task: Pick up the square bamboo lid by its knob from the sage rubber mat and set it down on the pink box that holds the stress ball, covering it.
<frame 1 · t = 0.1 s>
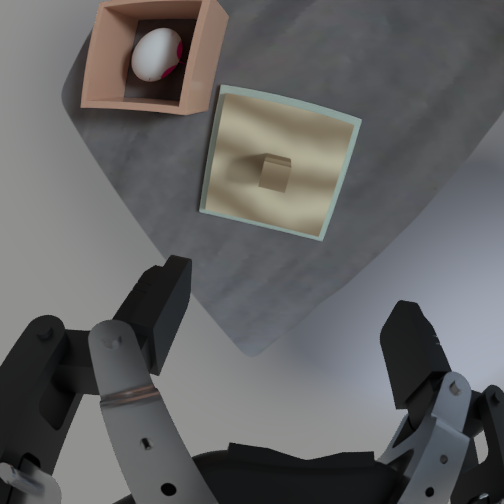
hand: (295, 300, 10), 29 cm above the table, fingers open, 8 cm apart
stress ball: (170, 58, 30), resting in pink box
pink box: (168, 58, 30), on the table
mat: (276, 164, 36), on the table
lid: (276, 165, 36), point 1 cm above the table, touching mat
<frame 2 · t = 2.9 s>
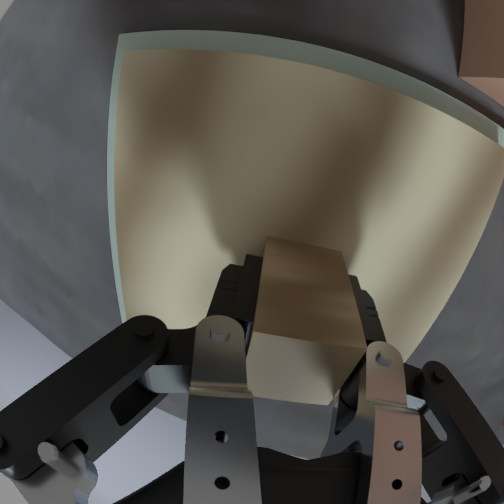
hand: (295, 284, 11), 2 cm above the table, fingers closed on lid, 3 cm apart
mat: (295, 255, 13), on the table
lid: (295, 262, 13), point 1 cm above the table, touching gripper, mat
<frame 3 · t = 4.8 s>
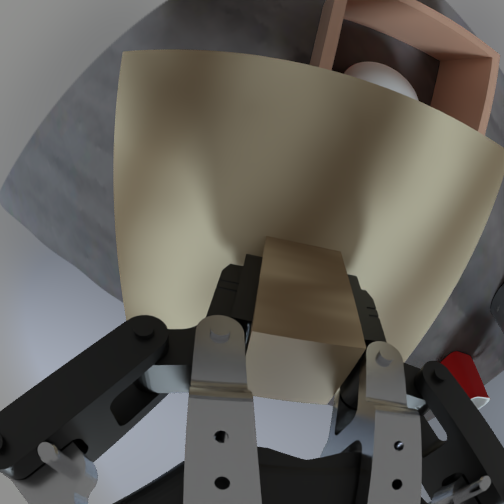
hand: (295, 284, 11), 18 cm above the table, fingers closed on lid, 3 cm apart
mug: (454, 366, 41), on the table
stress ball: (367, 102, 23), resting in pink box
pink box: (377, 87, 22), on the table
lid: (294, 262, 13), point 17 cm above the table, touching gripper
when the fingers open (12 cm above the table, at t = 7.0 s): lid drops 1 cm, resting on pink box.
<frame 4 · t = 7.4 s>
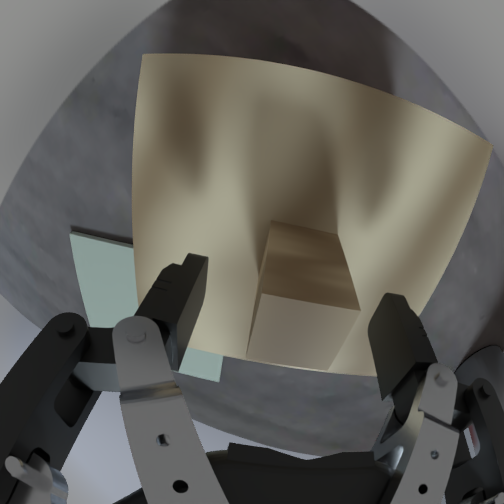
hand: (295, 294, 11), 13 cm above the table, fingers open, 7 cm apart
mat: (149, 315, 30), on the table
lid: (296, 245, 14), point 9 cm above the table, touching pink box
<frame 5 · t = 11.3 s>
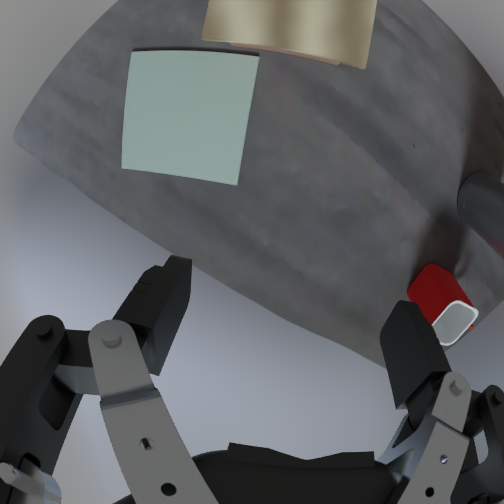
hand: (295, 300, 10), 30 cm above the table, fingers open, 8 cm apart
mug: (435, 287, 44), on the table
pink box: (293, 9, 26), on the table
mat: (182, 112, 35), on the table
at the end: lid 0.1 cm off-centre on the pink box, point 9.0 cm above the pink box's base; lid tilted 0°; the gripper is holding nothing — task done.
